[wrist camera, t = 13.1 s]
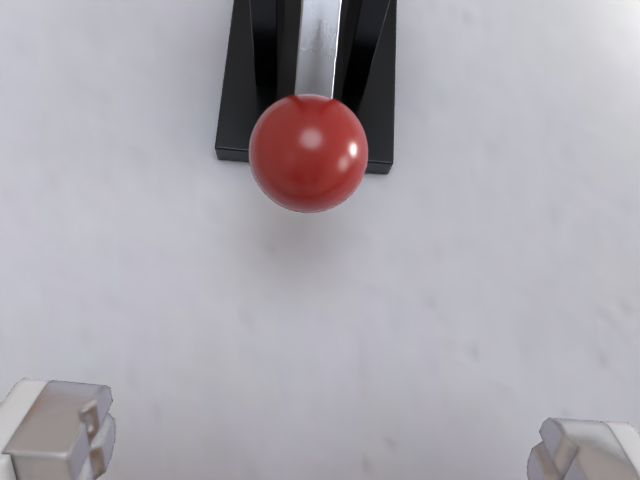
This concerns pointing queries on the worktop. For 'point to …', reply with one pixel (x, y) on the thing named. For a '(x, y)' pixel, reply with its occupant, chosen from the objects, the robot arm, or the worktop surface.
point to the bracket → (281, 62)
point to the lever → (310, 126)
